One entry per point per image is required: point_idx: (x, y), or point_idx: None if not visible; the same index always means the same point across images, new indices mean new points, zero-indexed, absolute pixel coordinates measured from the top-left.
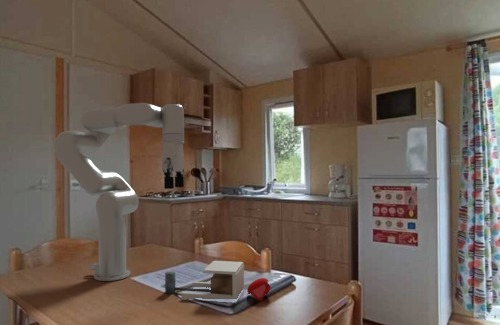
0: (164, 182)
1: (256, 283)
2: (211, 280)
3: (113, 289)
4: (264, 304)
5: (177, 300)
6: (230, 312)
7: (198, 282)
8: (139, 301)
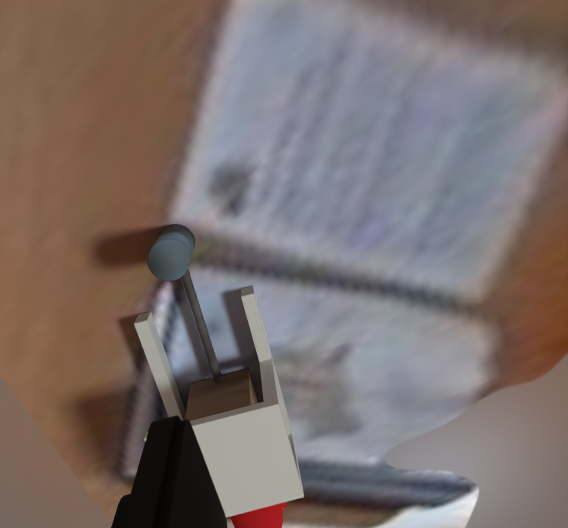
0: (132, 497)
1: (237, 524)
2: (186, 418)
3: (90, 6)
4: None
5: (127, 307)
6: (129, 470)
7: (250, 313)
8: (53, 202)
